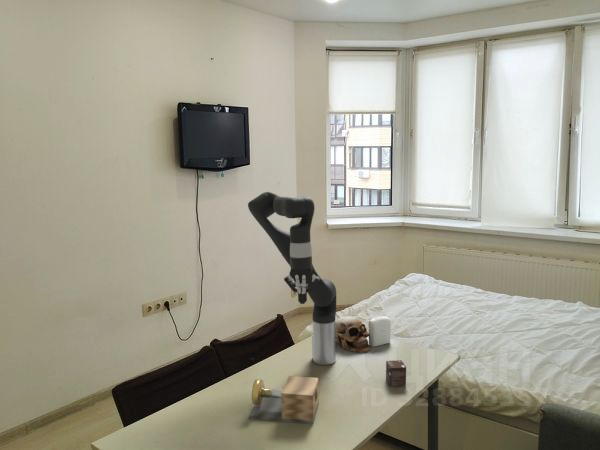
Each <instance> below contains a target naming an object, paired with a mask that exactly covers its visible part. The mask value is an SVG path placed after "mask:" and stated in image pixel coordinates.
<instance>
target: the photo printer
mask: <svg viewBox="0 0 600 450" xmlns="http://www.w3.org/2000/svg"><path fill="white" fill-rule="evenodd" d="M391 330H392V329H391V319H390V317H388V316H385V315H382V316H376V317H374V318H372V319H370V320H369V321H368V333H369V337H368V344H369V346H370V347H377V346H378V347H379V346H382V345H386V344H387V345H388V344H389V343H391V339H392V338H391V337H392V336H391Z"/></svg>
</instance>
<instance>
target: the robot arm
mask: <svg viewBox="0 0 600 450" xmlns="http://www.w3.org/2000/svg"><path fill="white" fill-rule="evenodd" d="M247 207H248V210H249V212H250V214H251V215H252V216H253V217H254V219H255V221H257V223H258V224H259V225H260V226H261V228H262V229H263V230H264V231H265V232H266V234H267V235H268V236H269V238H270V240H271V241H272V242H273V244H274V245H275V247H276V248H277V250H278V251H279V253H280V254H281V255H282V257H283V259H284V260H285V261H286V263H287V264H288V265H289V267H290V270H289V274H288V275H286V276H285V277H283V280H284V282H285V283H286V284H287V286H288V287H289V288H290V289H291V291H292V292H295V293H297V301H298V303H299V304H300V305H302V304H303V305H305V304H306V303H307V301H308V296H309V298H310V299H311V301H312V302H313V310H312V337H311V342H312V343H311V344H312V347H311V348H312V356H311V357H312V360H313V362H314V363H315V364H317V365H320V366H321V365H322V366H328V365H332V364H334V363H336V359H337V358H336V357H337V353H336V352H337V350H336V349H337V348H336V347H337V346H336V344H337V343H336V342H337V341H336V329H335V321H336V316H337V315H336V314H337V288H336V286H335V283H333V282H332V281H331V280H329V279H327V278H326V279H323V278H321V276H320V275H319V274H318V272H316V269H315V267H314V265H313V257H312V256H313V250H312V249H313V248H312V243H311V227H312V222H313V218H314V214H315V208H316V207H315V202H314V200H313V199H312V198H311V197H309V196H298V197H291V196H280V195H278V194H276V193H273V192H270V191H266V192H262V193H260V195H258V196H256V197H254V198H253V199H251V200H250V201H249V202H248V203H247ZM273 214H276V215H278V216H281V217H285V218H287V219H300V221H299V222H298V223H296V224H293V225H291V226H290V227H289V231H286V230H284V229H282V228H279V227H278V226H277V225H275V224H273V223H272V222H271V221H270V220H269V219H268V218H270V217H271V216H272V215H273Z"/></svg>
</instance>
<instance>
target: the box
mask: <svg viewBox="0 0 600 450" xmlns="http://www.w3.org/2000/svg"><path fill="white" fill-rule="evenodd" d="M385 380H386V382H387V384H388V386H389V387H390V388H391V387H392V388H394V387H406V386H407V366H406V365H405V363H404V362H403V361H402V360H400V359H399V360H397V359H396V360H386V361H385Z"/></svg>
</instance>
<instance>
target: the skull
mask: <svg viewBox="0 0 600 450" xmlns="http://www.w3.org/2000/svg"><path fill="white" fill-rule="evenodd" d="M335 329H336V342H337V343H338V344H339V345H342V349H343V350H347V351H349V352H353V353H359V354H360V353H362V354H363V353H365V354H366V353H368V352H370V351H371V350H372V348H371V346H370V345H369V339H368V338H369V331H368V330H367V328H366V324H364V323H363V322H362V321H361V320H360V319H359V318H357V317H354V316H351V315H350V316H349V315H348V316H342V317H338V318H337V319H335Z"/></svg>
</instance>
